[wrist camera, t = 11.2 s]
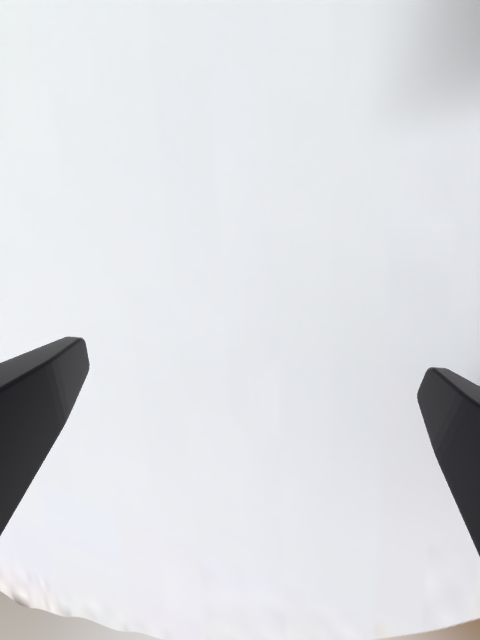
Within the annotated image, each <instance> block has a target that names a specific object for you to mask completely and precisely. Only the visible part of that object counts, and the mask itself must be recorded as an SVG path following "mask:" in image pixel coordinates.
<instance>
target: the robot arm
mask: <svg viewBox="0 0 480 640" xmlns="http://www.w3.org/2000/svg"><path fill="white" fill-rule="evenodd" d="M88 371H89V359H88V353H87V348H86V343H85V341H84V339H82V338H79V337H65V338H62V339H60V340H57V341H55V342H52V343H49V344H47V345H44V346H42V347H39V348H37V349H34V350H32V351H29V352H27V353H24V354H22V355H19V356H17V357H14V358H12V359H9V360H7V361H4V362H2V363H0V535H1V534H2V532H3V530H4V529H5V527H6V525H7V523H8V522H9V520H10V518H11V517H12V515H13V513H14V511H15V510H16V508H17V506H18V504H19V503H20V501H21V499H22V498H23V496H24V494H25V492H26V491H27V489H28V487H29V486H30V484H31V482H32V480H33V479H34V477H35V475H36V473H37V472H38V470H39V468H40V467H41V465H42V463H43V461H44V460H45V458H46V456H47V455H48V453H49V451H50V449H51V448H52V446H53V444H54V442H55V441H56V439H57V437H58V436H59V434H60V432H61V430H62V429H63V427H64V425H65V423H66V421H67V419H68V417H69V415H70V413H71V411H72V408H73V406H74V404H75V401H76V399H77V397H78V395H79V392H80V390H81V388H82V385H83V383H84V381H85V379H86V376H87V374H88ZM417 399H418V403H419V407H420V410H421V413H422V416H423V419H424V422H425V425H426V429H427V432H428V435H429V438H430V441H431V444H432V447H433V450H434V453H435V455H436V458H437V460H438V463H439V465H440V467H441V470H442V472H443V474H444V476H445V479H446V481H447V483H448V486H449V488H450V490H451V492H452V495H453V497H454V499H455V501H456V504H457V506H458V508H459V511H460V513H461V515H462V517H463V520H464V522H465V524H466V526H467V529H468V531H469V533H470V536H471V538H472V540H473V542H474V545H475V547H476V549H477V551H478V554H479V556H480V386H478V385H476V384H474V383H472V382H470V381H469V380H467V379H465V378H463V377H461V376H460V375H458V374H456V373H454V372H452V371H450V370H449V369H446V368H436V367H431V368H429V369H428V370H427V371H426V373H425V376H424V378H423V380H422V383H421V385H420V388H419V390H418V394H417Z"/></svg>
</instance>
